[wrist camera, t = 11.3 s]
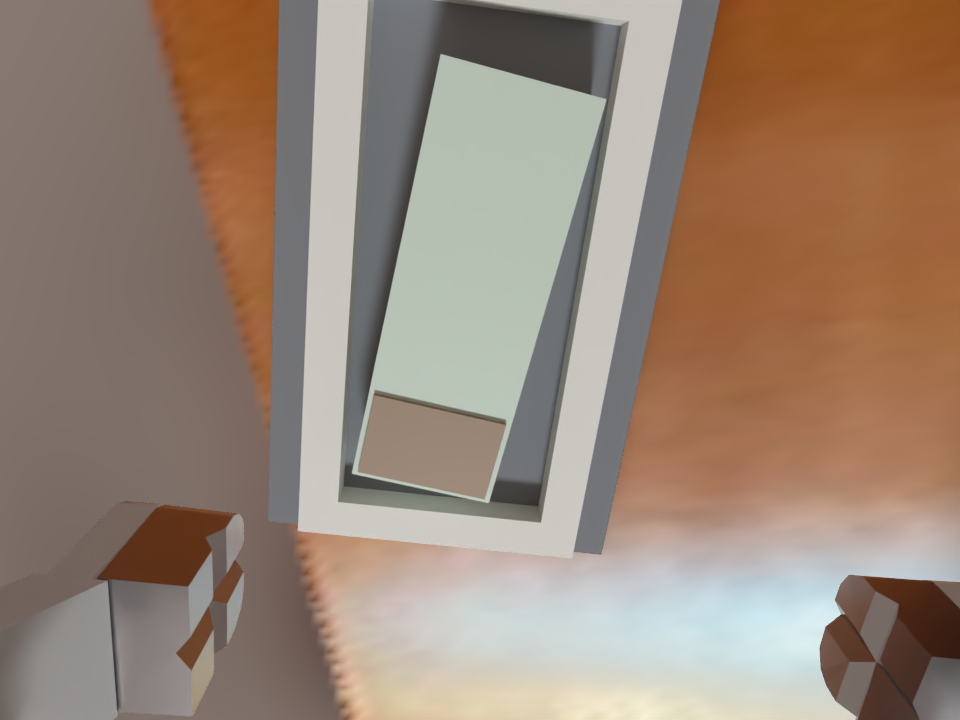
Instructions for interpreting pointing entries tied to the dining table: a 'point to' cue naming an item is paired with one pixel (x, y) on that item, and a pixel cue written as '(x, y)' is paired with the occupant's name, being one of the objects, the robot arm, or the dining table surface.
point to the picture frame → (378, 232)
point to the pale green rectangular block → (473, 275)
